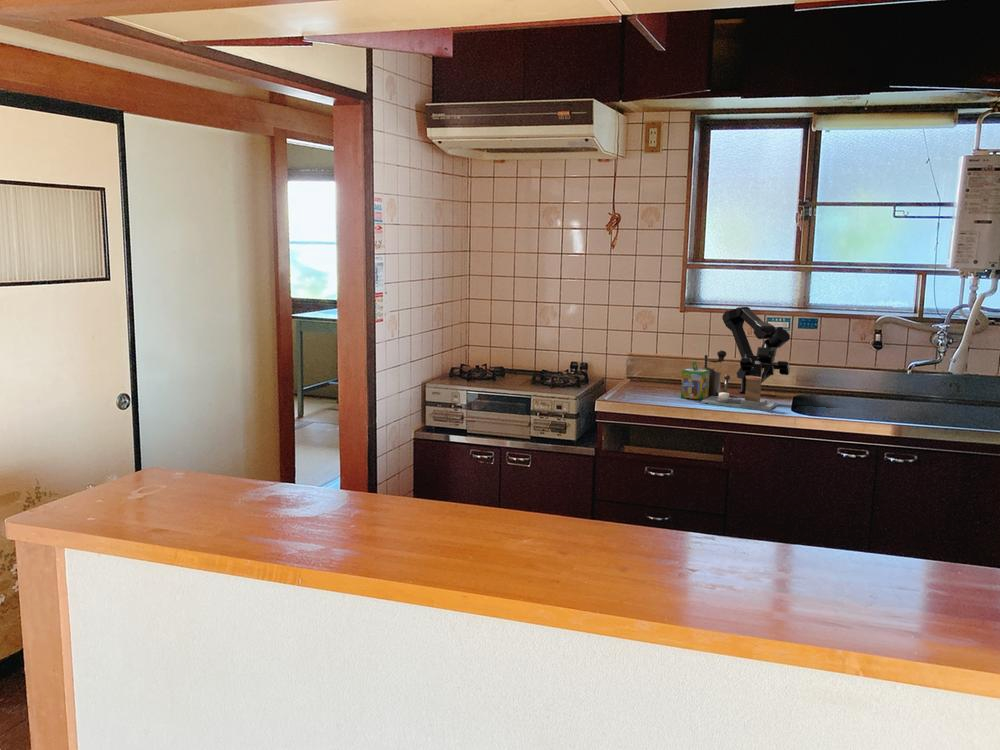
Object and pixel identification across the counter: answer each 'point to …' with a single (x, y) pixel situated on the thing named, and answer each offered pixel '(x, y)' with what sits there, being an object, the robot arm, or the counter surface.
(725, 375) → the dark gray metallic lever
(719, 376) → the grey knobbed device
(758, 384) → the brown tall rectangular block
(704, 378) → the chalk box
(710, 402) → the control board
